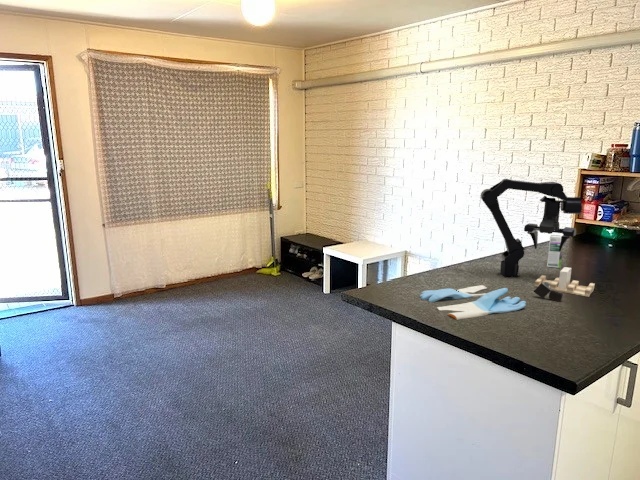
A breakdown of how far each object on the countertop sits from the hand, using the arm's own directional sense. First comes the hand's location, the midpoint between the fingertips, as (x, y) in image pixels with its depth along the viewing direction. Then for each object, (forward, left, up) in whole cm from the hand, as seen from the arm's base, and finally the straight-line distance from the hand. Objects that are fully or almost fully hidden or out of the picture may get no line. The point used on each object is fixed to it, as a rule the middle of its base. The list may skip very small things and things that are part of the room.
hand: (547, 250), depth 193 cm
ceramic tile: (-2, -14, -12) cm, 18 cm away
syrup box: (+17, +16, -12) cm, 26 cm away
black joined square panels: (-17, -24, -12) cm, 32 cm away
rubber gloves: (-46, -21, -13) cm, 52 cm away
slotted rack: (-2, -14, -12) cm, 19 cm away
